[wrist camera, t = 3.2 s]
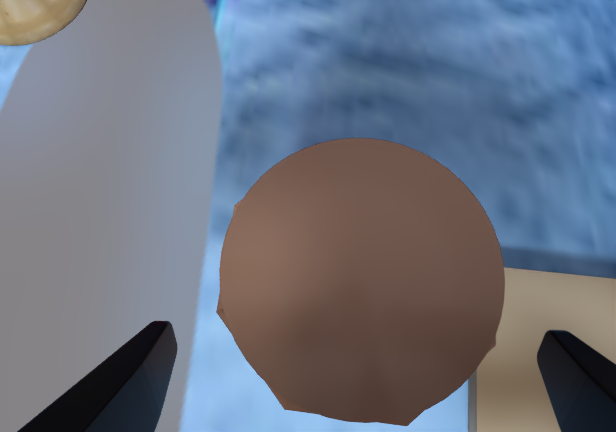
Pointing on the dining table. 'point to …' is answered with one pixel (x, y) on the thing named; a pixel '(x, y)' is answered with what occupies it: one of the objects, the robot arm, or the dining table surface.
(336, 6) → the dining table surface
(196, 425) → the dining table surface
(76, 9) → the hand bell
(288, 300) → the salmon domed prism
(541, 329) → the birch board
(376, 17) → the dining table surface
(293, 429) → the dining table surface
